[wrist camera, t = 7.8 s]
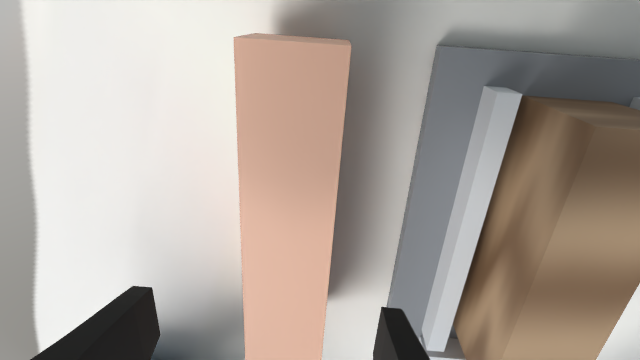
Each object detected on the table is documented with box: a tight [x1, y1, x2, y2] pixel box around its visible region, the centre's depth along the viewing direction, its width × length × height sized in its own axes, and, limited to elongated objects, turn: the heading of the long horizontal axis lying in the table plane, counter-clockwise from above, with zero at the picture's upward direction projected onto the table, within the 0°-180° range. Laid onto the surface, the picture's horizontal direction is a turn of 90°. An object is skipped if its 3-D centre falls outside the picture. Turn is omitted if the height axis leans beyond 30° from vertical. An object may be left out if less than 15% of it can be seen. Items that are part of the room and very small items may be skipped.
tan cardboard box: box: [453, 95, 640, 360], centre depth 16 cm, size 14×4×5 cm, turn 176°
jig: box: [387, 45, 640, 360], centre depth 18 cm, size 18×12×2 cm, turn 176°
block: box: [234, 33, 351, 360], centre depth 17 cm, size 16×4×4 cm, turn 176°
